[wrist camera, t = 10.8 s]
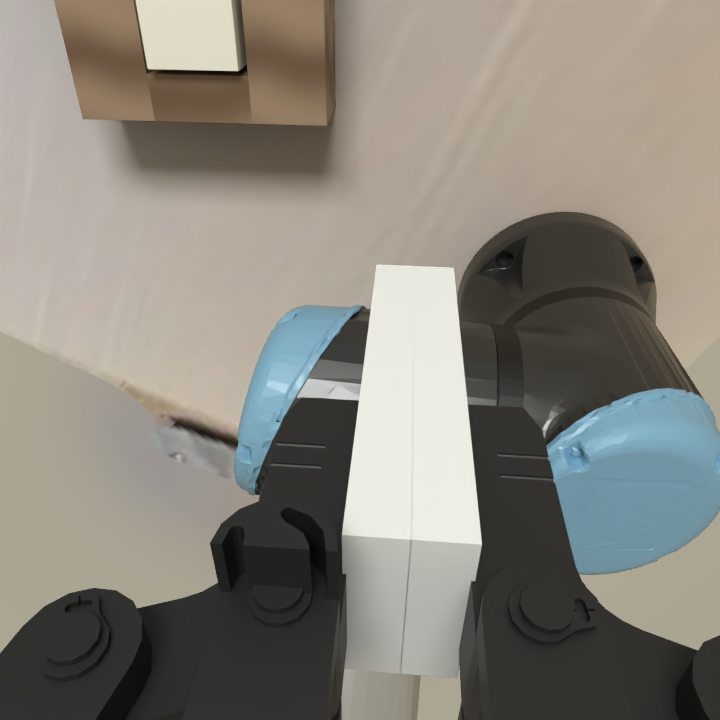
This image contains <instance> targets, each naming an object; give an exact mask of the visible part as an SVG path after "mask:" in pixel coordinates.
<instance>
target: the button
mask: <svg viewBox="0 0 720 720" xmlns="http://www.w3.org/2000/svg"><path fill="white" fill-rule="evenodd" d="M136 6H137V12H138V17H139V23H140V29H141V34H142V40H143V46H144V51H145V57H146V63H147V68H148V69H164V70H209V71H239V70H240V69H242V68H243V67H244V66H246V65H247V59H246V48H245V37H244V26H243V15H242V4H241V0H136Z"/></svg>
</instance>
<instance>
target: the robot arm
mask: <svg viewBox="0 0 720 720" xmlns="http://www.w3.org/2000/svg"><path fill="white" fill-rule="evenodd" d="M457 303H458V305H457ZM238 441H239V443H238V447H237V451H236V455H235V463H234V471H235V479H236V482H237V484H238V485H239V487H240V488H242V489H244V490H246V491H247V492H248V493H249V494H250V495H259V494H260V497H259V502H256V503H254V504H251V505H249V506H247V507H244V508H241V509H239V510H238V511H237V512H235V513H234V514H233V515H232V516H230V517H229V518H228V519H227V520H226V521H224V522H223V523H222V524H221V525H220V527H219V529H218V530H217V532H216V534H215V536H214V537H213V539H212V541H211V542H210V545H211V550H212V555H213V559H214V564H215V569H216V574H217V579H218V583H217V584H215V585H213V586H212V587H210V588H208V589H206V590H204V591H203V592H200V593H198V594H194V595H191V596H188V597H185V598H181V599H177V600H172V601H168V602H163V603H159V604H155V605H150V606H146V607H142V608H136V606H135V604H134V602H133V601H132V600H131V599H129V598H127V597H126V596H124V595H122V594H121V593H119V592H118V591H116V590H107V589H97V588H92V589H87V590H83V591H78V592H73V593H69V594H67V595H65V596H63V597H61V598H60V599H58V600H56V601H54V602H52V603H50V604H48V605H46V606H44V607H43V608H42V609H41V610H40V611H39V612H38V613H37V614H36V615H35V616H34V617H33V618H31V619H30V620H29V621H28V622H27V623H26V624H25V625H24V626H23V627H22V628H21V629H20V630H19V632H18V633H17V634H16V635H15V636H14V638H13V639H12V640H11V641H10V642H9V644H8V645H7V646H6V647H5V648H4V650H3V651H2V652H1V653H0V720H417V711H418V699H419V685H420V675H424V676H436V677H448V678H457V676H458V670H459V665H460V680H461V699H462V702H461V707H460V712H459V717H458V720H720V636H717V637H715V638H712V639H710V640H708V641H706V642H704V643H703V644H702V646H701V647H700V649H699V650H698V651H697V650H694V649H692V648H689V647H686V646H684V645H681V644H678V643H676V642H673V641H670V640H667V639H665V638H662V637H659V636H657V635H654V634H651V633H648V632H646V631H643V630H641V629H639V628H636V627H634V626H632V625H630V624H628V623H626V622H624V621H622V620H621V619H619V618H618V617H616V616H615V615H613V614H612V613H610V612H609V611H608V610H606V609H605V608H604V607H603V606H602V605H601V604H600V603H599V602H598V600H597V598H596V597H595V596H594V595H593V594H592V593H591V592H590V591H589V590H588V589H587V588H586V586H585V585H584V583H583V582H582V581H581V578H580V576H579V574H582V575H596V574H609V573H617V572H621V571H626V570H631V569H634V568H638V567H641V566H644V565H647V564H650V563H652V562H655V561H657V560H658V559H660V558H661V557H663V556H665V555H667V554H670V553H672V552H674V551H677V550H678V549H680V548H682V547H683V546H685V545H686V544H688V543H689V542H690V541H692V540H693V539H694V538H696V537H697V536H698V535H699V534H700V533H701V532H703V531H704V530H705V529H706V528H707V527H708V525H709V524H710V523H711V522H712V521H713V520H714V518H715V517H716V516H717V514H718V513H719V511H720V433H719V431H718V429H717V427H716V421H715V417H714V413H713V412H712V410H711V409H710V407H709V405H708V404H707V403H706V402H705V401H704V399H703V397H702V396H701V394H700V393H699V391H698V390H697V388H696V387H695V385H694V383H693V382H692V380H691V379H690V377H689V376H688V374H687V373H686V371H685V370H684V368H683V366H682V365H681V363H680V362H679V360H678V359H677V357H676V356H675V354H674V352H673V351H672V349H671V348H670V346H669V345H668V343H667V342H666V340H665V339H664V337H663V335H662V334H661V332H660V331H659V329H658V328H657V326H656V285H655V280H654V276H653V273H652V270H651V268H650V265H649V263H648V261H647V260H646V258H645V256H644V255H643V253H642V252H641V251H640V249H639V248H638V246H637V245H636V243H635V242H634V241H633V240H632V239H631V238H630V237H629V235H627V234H626V233H625V232H624V231H623V230H621V229H620V228H619V227H617V226H616V225H614V224H612V223H610V222H608V221H606V220H604V219H602V218H599V217H596V216H592V215H588V214H583V213H576V212H555V213H547V214H542V215H538V216H534V217H530V218H528V219H525V220H522V221H520V222H517V223H515V224H513V225H511V226H509V227H508V228H506V229H504V230H503V231H501V232H500V233H498V234H497V235H495V236H494V237H493V238H492V239H490V240H489V241H488V242H487V243H486V244H485V245H484V246H483V247H482V248H481V249H480V250H479V251H478V252H477V254H476V255H475V256H474V258H473V259H472V260H471V262H470V264H469V265H468V267H467V269H466V271H465V273H464V275H463V278H462V281H461V284H460V287H459V292H458V302H457V296H456V286H455V276H454V268H449V267H424V266H400V265H376V273H375V281H374V288H373V296H372V304H371V309H366V307H364V306H360V305H355V306H353V307H331V306H315V305H305V306H300V307H297V308H295V309H293V310H291V311H289V312H288V313H287V314H285V315H284V316H283V317H282V318H281V319H280V320H279V322H278V323H277V324H276V326H275V328H274V329H273V330H272V332H271V333H270V335H269V337H268V339H267V341H266V343H265V345H264V347H263V349H262V352H261V354H260V357H259V359H258V362H257V364H256V367H255V370H254V373H253V376H252V379H251V382H250V385H249V389H248V392H247V396H246V399H245V403H244V407H243V411H242V415H241V420H240V425H239V430H238Z"/></svg>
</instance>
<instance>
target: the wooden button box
mask: <svg viewBox="0 0 720 720" xmlns="http://www.w3.org/2000/svg"><path fill="white" fill-rule="evenodd" d="M54 1H55V5H56V10H57V14H58V18H59V22H60V26H61V30H62V34H63V38H64V42H65V47H66V51H67V55H68V59H69V63H70V67H71V71H72V75H73V80H74V84H75V88H76V92H77V96H78V100H79V104H80V108H81V113H82V117H83V119H97V120H134V121H171V122H207V123H244V124H280V125H317V126H327V124H328V122H329V120H330V118H331V116H332V114H333V112H334V110H335V107H336V104H335V41H334V0H241V4H242V15H243V26H244V37H245V48H246V59H247V65H246V66H244V67H243V68H242V69H240V70H239V71H209V70H164V69H148V68H147V63H146V57H145V51H144V46H143V40H142V34H141V29H140V23H139V17H138V12H137V6H136V0H54Z"/></svg>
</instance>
